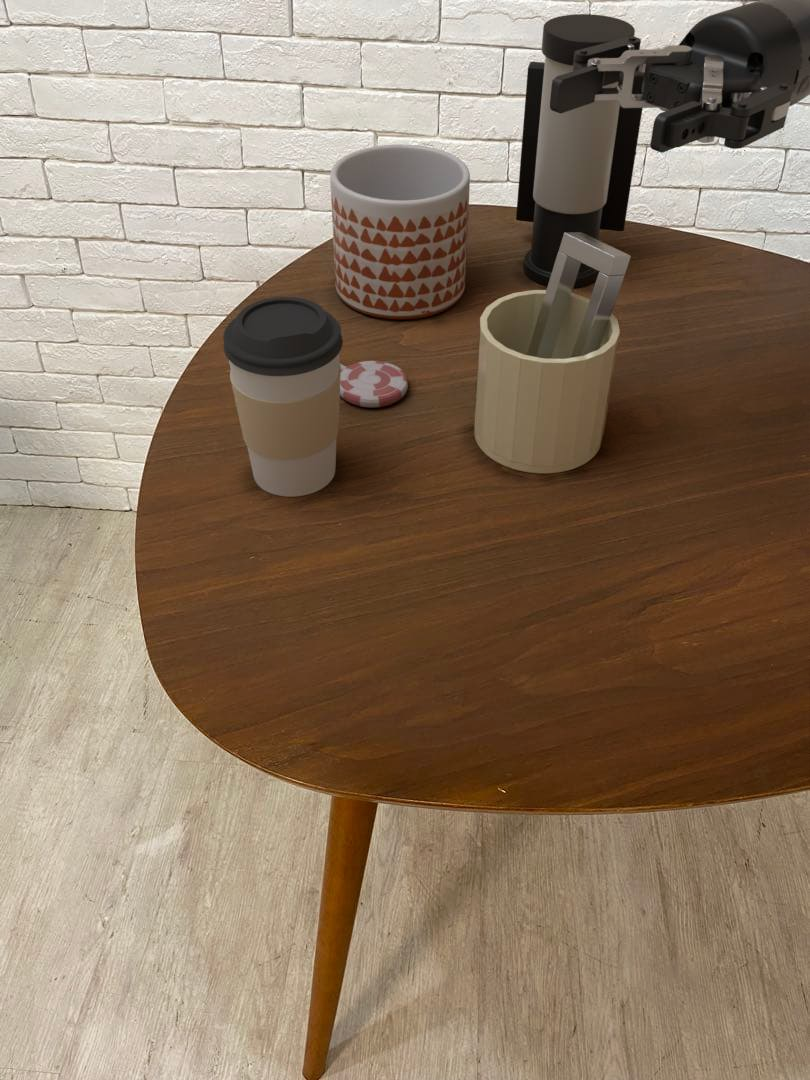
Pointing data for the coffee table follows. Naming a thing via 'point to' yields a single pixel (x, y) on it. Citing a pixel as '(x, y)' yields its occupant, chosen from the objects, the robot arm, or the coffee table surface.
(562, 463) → the crock
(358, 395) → the lollipop
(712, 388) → the coffee table surface
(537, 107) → the light fixture
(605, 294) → the tongs
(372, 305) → the planter
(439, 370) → the coffee table surface
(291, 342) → the coffee cup
